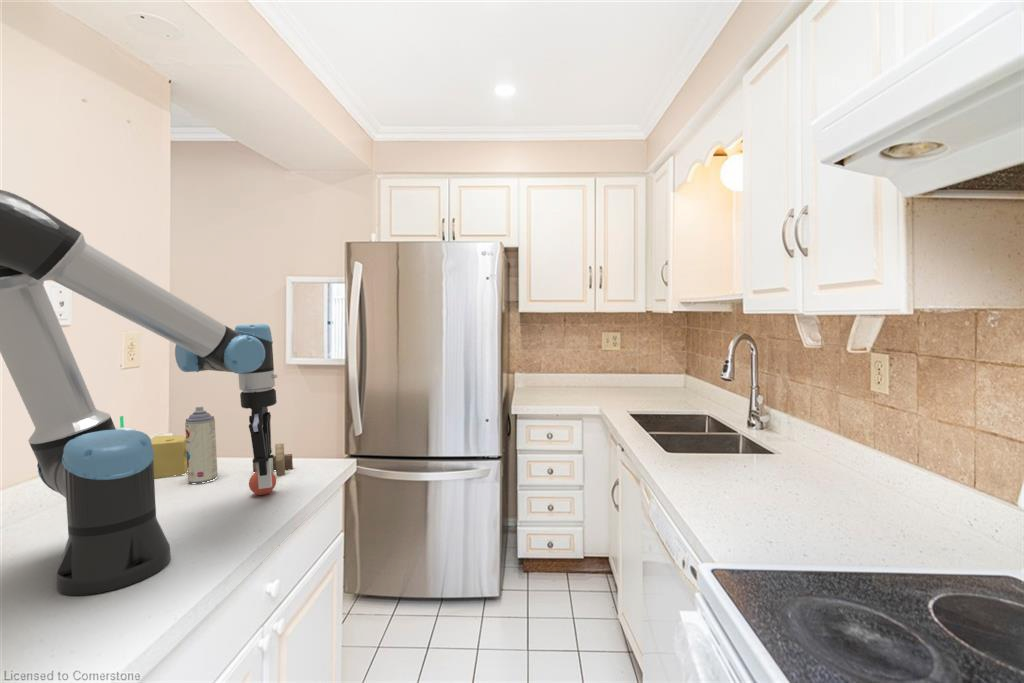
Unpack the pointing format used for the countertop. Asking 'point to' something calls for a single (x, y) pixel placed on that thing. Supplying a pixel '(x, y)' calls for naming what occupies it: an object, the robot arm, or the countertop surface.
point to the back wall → (287, 462)
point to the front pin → (271, 462)
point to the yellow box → (169, 455)
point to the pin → (280, 459)
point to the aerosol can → (201, 446)
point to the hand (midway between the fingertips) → (265, 487)
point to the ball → (255, 488)
